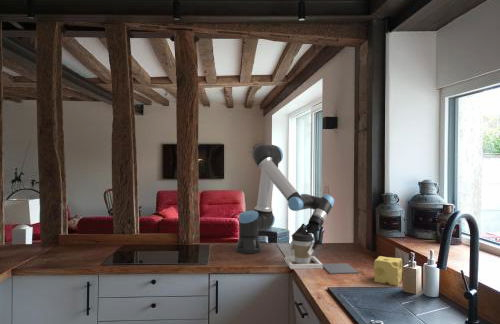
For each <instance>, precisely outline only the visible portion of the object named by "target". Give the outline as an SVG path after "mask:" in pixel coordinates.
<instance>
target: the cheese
mask: <svg viewBox="0 0 500 324" xmlns="http://www.w3.org/2000/svg"><path fill="white" fill-rule="evenodd" d="M373 265H374V267H373V270H374V271H373V275H374V277H373V279H374V282H375V283H379V284H389V285H391V286H396V287H398V286H399V284H400V282H402V279H403V259H402V258H401V257H400V258H399V257H390V256H389V257H387V256H382V255H379V256H378V257H377V258H376V259H375V260H374V261H373Z"/></svg>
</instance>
